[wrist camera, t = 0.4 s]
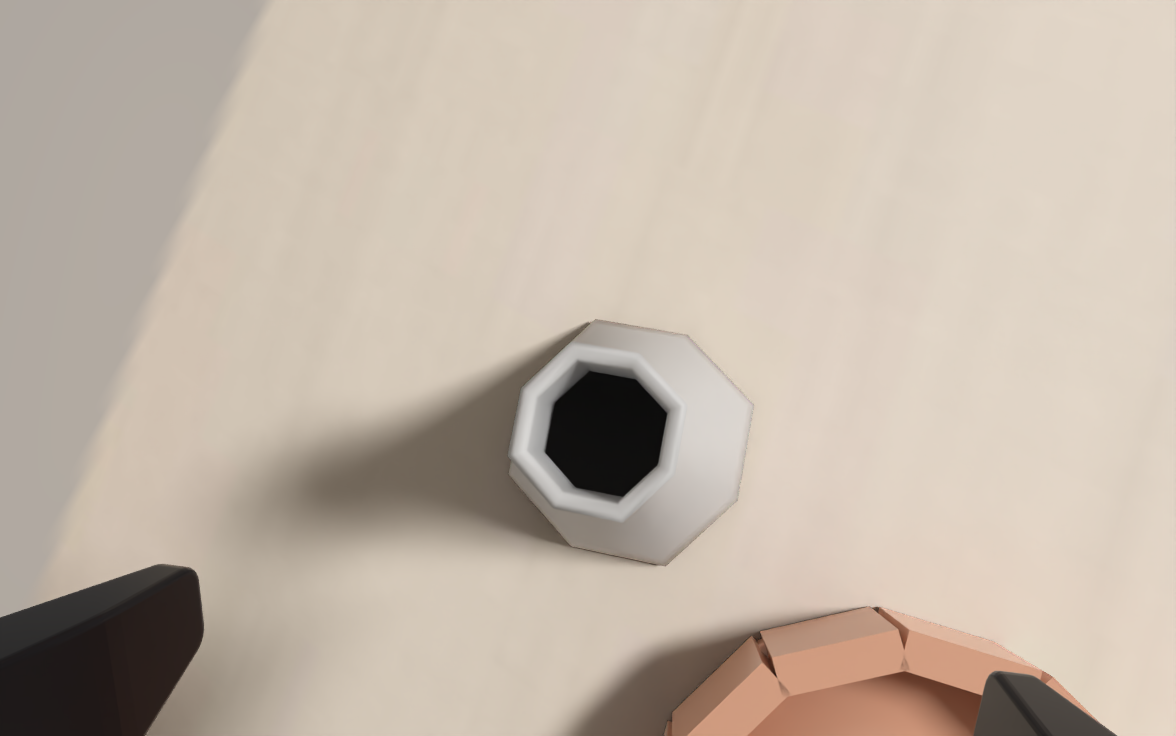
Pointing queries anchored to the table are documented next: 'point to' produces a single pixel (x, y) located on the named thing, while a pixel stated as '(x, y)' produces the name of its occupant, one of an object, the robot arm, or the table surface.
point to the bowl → (851, 680)
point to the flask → (630, 441)
